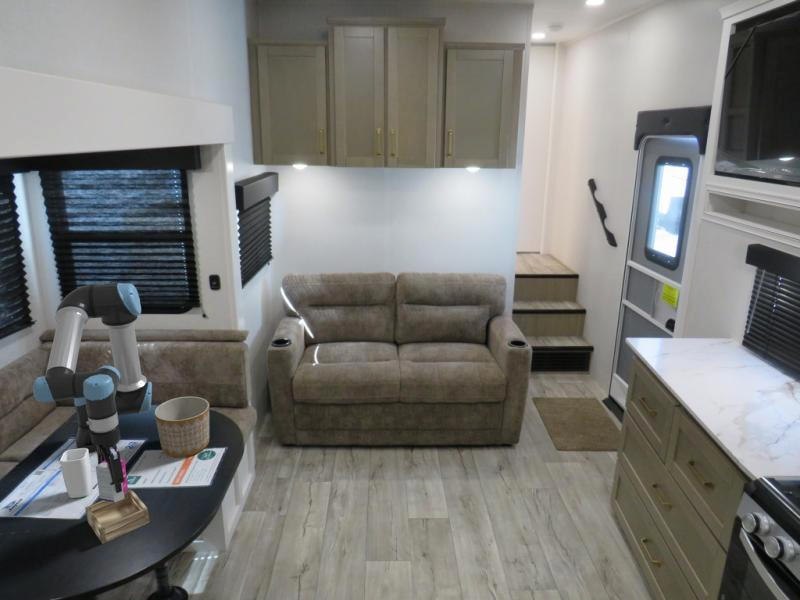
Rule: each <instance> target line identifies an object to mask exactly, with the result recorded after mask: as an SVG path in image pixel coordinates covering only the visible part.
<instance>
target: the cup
mask: <svg viewBox="0 0 800 600" xmlns="http://www.w3.org/2000/svg"><path fill="white" fill-rule="evenodd" d="M61 455H62V456H61V457H60V459H59V464H60V469H61V475H62V478H63V483H64V486H65V488H66V491H67V495H68V497H69V498H70V499H79V498H84V497H87V496H89V494H90V492H91V491H92V467H91V460H90V459H91V458H90V452H88V449H87V448H80V449H77V448H74V449H67V450H66V451H64V452H63V453H62V454H61Z"/></svg>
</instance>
